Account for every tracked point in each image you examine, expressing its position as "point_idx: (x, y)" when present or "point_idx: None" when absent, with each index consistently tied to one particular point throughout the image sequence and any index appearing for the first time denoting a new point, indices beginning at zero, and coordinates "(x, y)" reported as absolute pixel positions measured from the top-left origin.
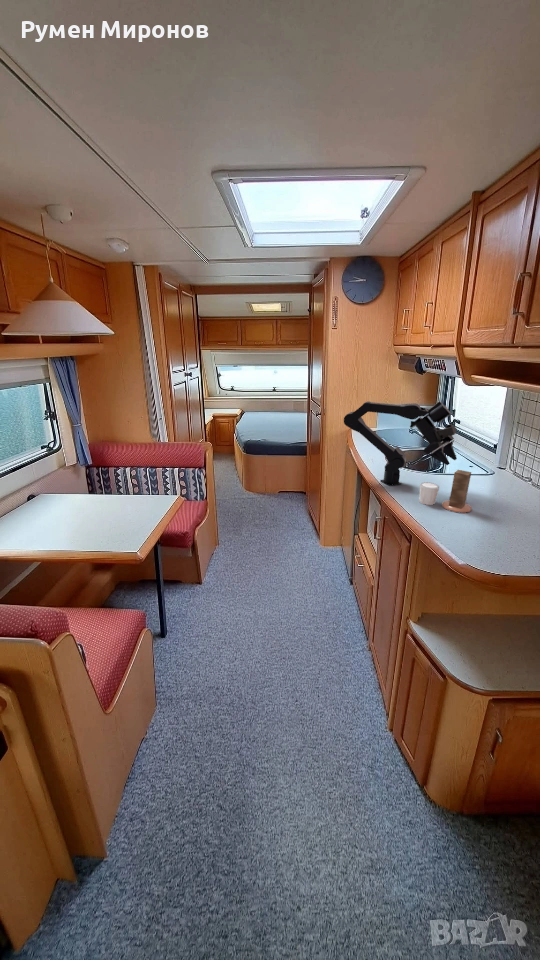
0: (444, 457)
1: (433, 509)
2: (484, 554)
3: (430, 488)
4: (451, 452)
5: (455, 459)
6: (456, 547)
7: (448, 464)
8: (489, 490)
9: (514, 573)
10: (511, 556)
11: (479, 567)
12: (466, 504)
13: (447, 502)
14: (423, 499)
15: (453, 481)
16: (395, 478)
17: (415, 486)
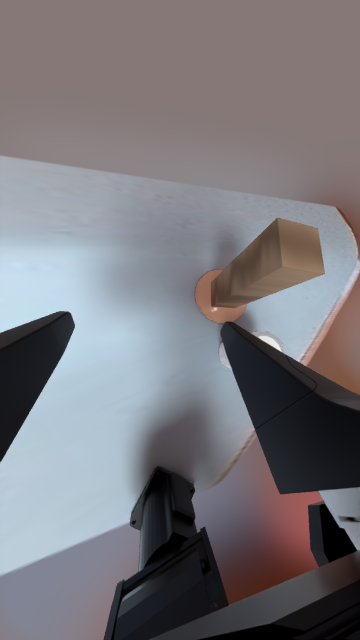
0: (276, 355)
1: (257, 329)
2: (331, 244)
3: (283, 346)
4: (9, 369)
5: (71, 319)
6: (339, 272)
7: (226, 326)
8: (39, 247)
9: (341, 219)
10: (315, 219)
11: (354, 247)
12: (203, 280)
13: (219, 314)
14: None
15: (285, 287)
16: (188, 499)
17: (145, 423)
